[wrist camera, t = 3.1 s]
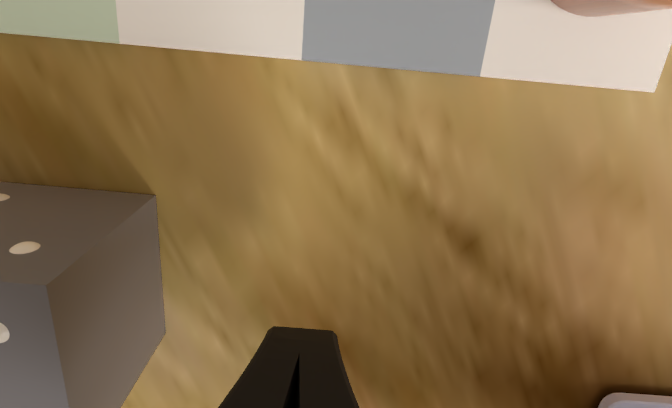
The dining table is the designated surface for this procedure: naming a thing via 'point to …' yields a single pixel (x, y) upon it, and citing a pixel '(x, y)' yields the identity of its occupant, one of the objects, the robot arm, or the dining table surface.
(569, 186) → the dining table surface
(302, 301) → the dining table surface
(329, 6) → the board
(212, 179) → the dining table surface
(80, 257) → the die
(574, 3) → the pawn
